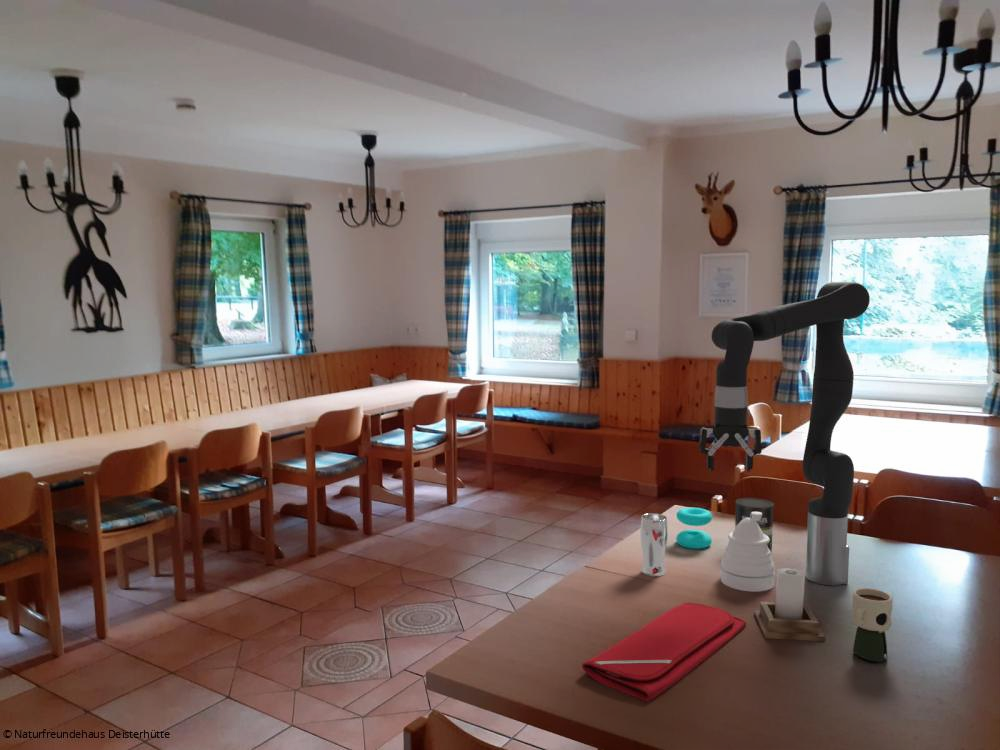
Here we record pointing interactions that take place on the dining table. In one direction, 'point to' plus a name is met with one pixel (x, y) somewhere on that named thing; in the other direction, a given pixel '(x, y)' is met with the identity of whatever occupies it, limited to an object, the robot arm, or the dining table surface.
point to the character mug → (871, 622)
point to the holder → (788, 624)
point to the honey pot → (748, 558)
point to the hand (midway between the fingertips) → (729, 470)
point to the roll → (789, 594)
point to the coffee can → (756, 505)
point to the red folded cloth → (664, 650)
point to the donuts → (694, 537)
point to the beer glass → (653, 543)
